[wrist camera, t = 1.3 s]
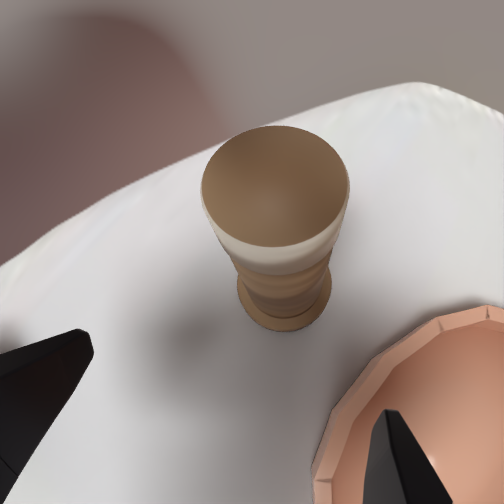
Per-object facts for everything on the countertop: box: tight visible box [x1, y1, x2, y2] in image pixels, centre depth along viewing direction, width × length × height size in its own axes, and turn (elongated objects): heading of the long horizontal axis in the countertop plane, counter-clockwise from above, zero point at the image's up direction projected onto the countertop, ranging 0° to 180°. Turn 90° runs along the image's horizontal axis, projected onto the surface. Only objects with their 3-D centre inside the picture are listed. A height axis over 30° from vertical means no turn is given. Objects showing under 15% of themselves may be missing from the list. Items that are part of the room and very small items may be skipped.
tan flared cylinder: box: [200, 126, 350, 332], centre depth 17 cm, size 6×6×13 cm
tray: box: [311, 305, 504, 504], centre depth 14 cm, size 22×22×3 cm
